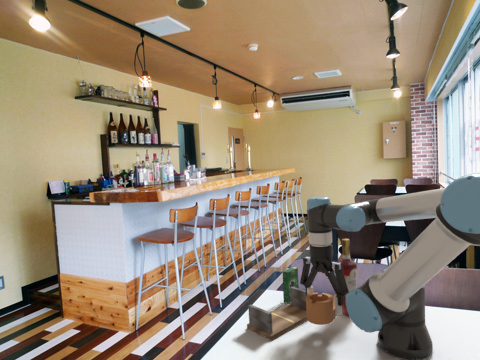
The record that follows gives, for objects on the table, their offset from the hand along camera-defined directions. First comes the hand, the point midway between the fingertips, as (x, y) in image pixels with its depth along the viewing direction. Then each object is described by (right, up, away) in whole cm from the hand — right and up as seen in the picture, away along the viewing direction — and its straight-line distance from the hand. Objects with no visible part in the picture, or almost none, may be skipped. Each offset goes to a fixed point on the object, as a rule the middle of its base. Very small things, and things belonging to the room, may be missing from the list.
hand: (324, 310), depth 116 cm
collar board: (-13, -8, +11) cm, 19 cm away
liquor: (+12, -7, +14) cm, 20 cm away
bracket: (0, -1, -1) cm, 1 cm away
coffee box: (-7, -7, +30) cm, 31 cm away
